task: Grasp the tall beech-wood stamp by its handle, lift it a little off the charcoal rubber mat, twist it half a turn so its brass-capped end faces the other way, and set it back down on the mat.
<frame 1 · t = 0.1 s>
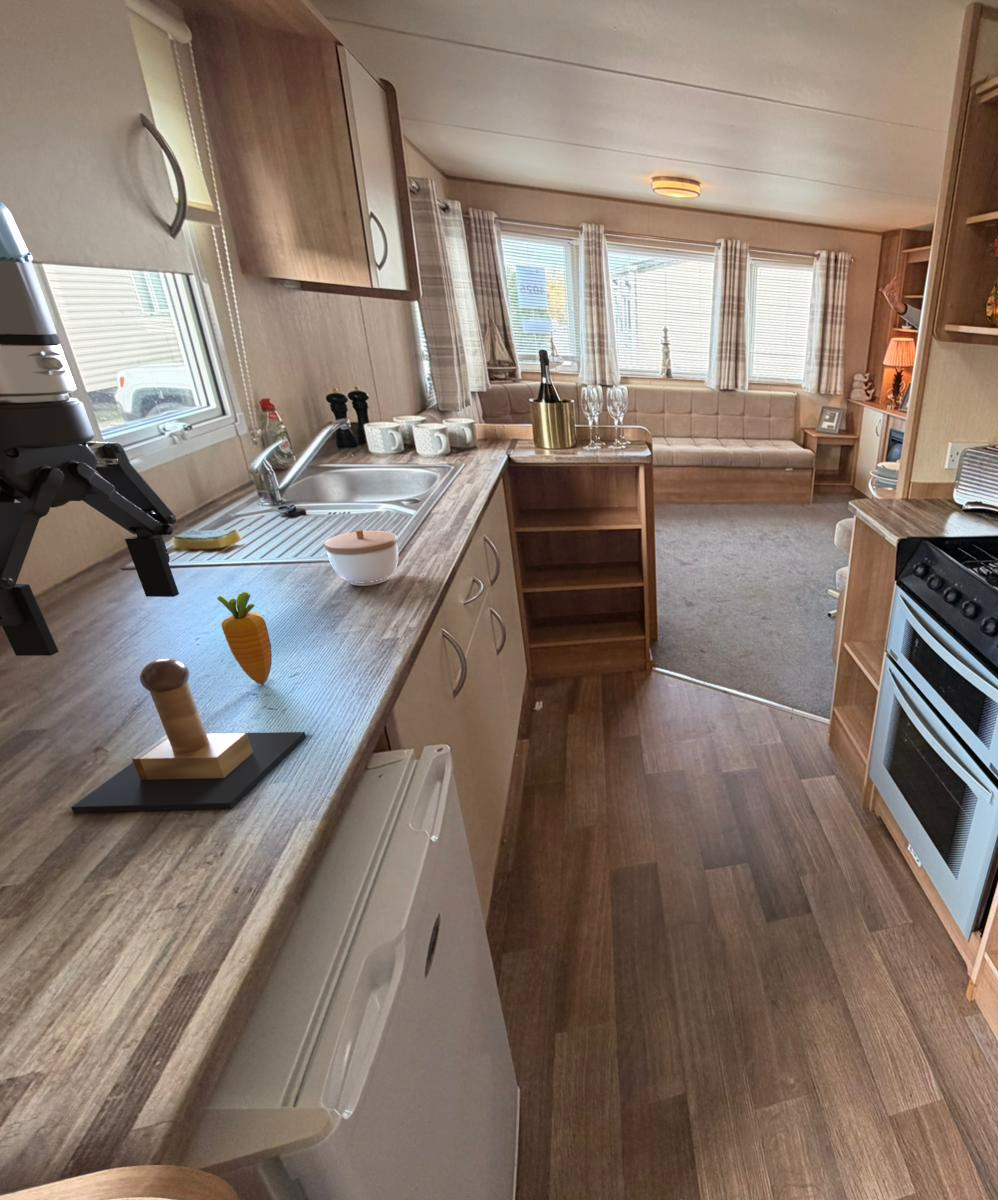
hand: (106, 622, 63), 23 cm above the counter, tool pointing down, fingers open, 13 cm apart
stamp: (157, 766, 77), point 1 cm above the counter, touching mat
lidded bowl: (370, 580, 136), on the counter
mat: (200, 771, 78), on the counter
carrot: (262, 685, 96), on the counter
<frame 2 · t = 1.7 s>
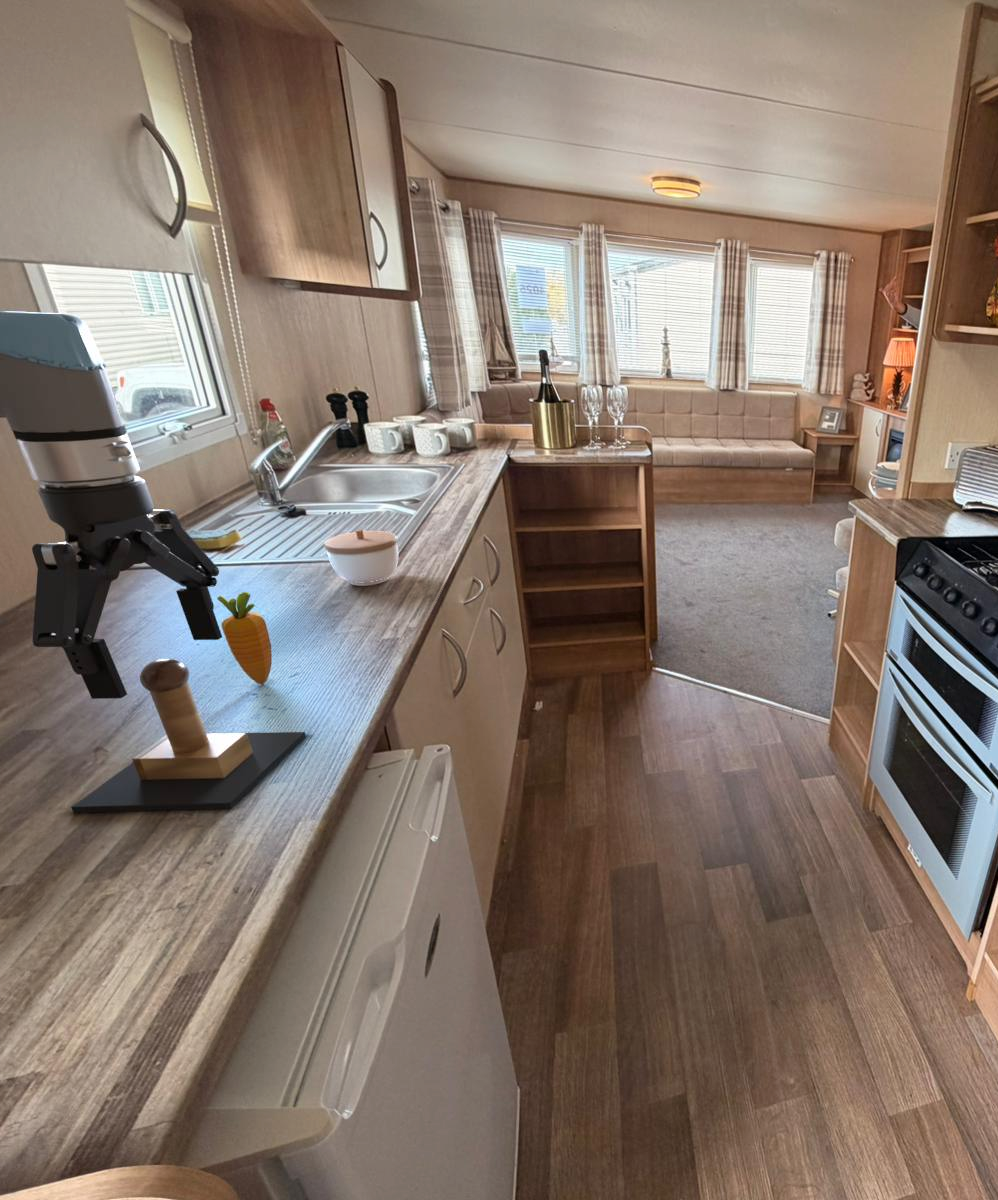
hand: (163, 665, 72), 15 cm above the counter, tool pointing down, fingers open, 13 cm apart
nothing on the counter moved.
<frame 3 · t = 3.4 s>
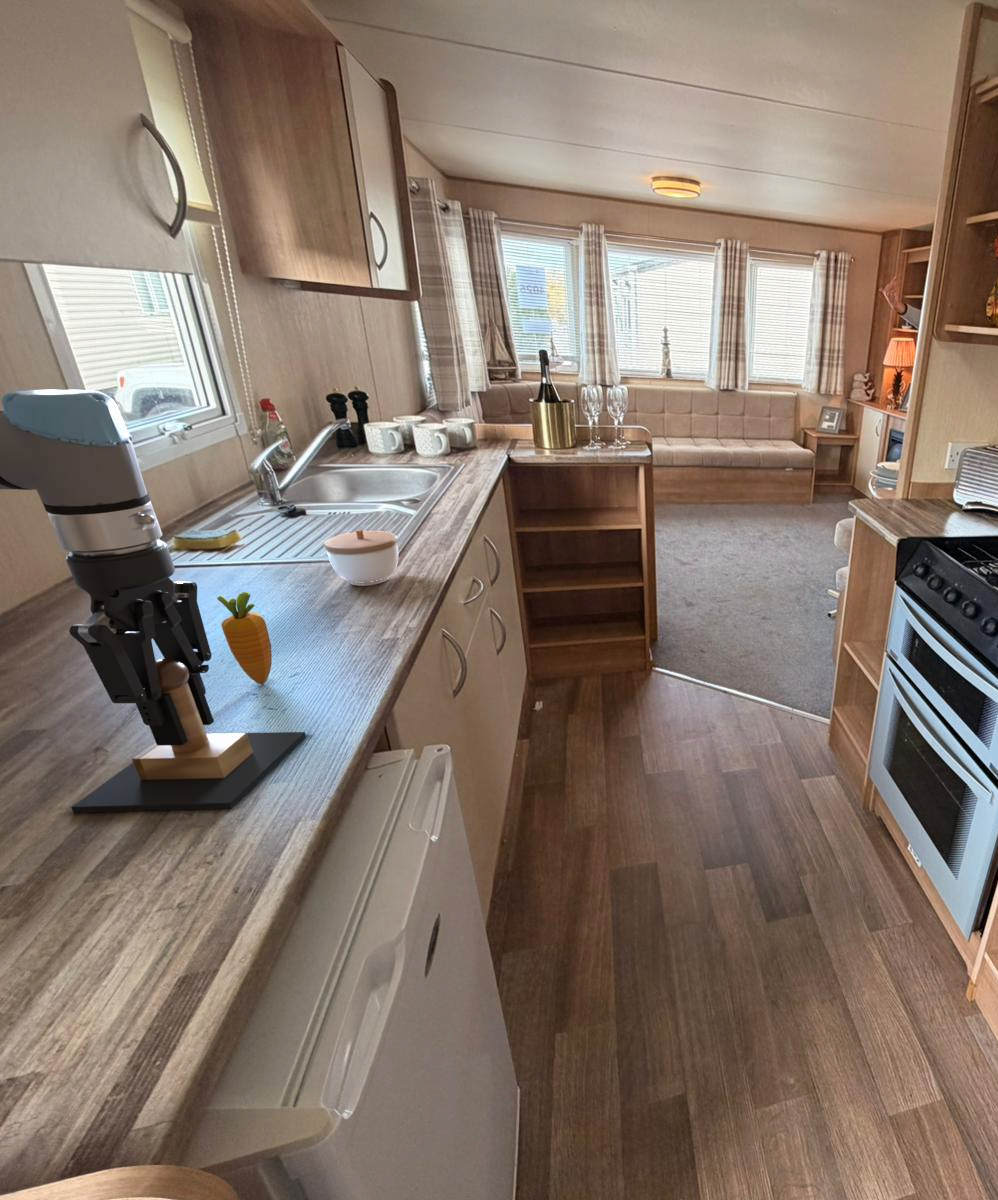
hand: (186, 732, 75), 6 cm above the counter, tool pointing down, fingers closed on stamp, 3 cm apart
stamp: (157, 766, 77), point 1 cm above the counter, touching gripper, mat
everything else where it was.
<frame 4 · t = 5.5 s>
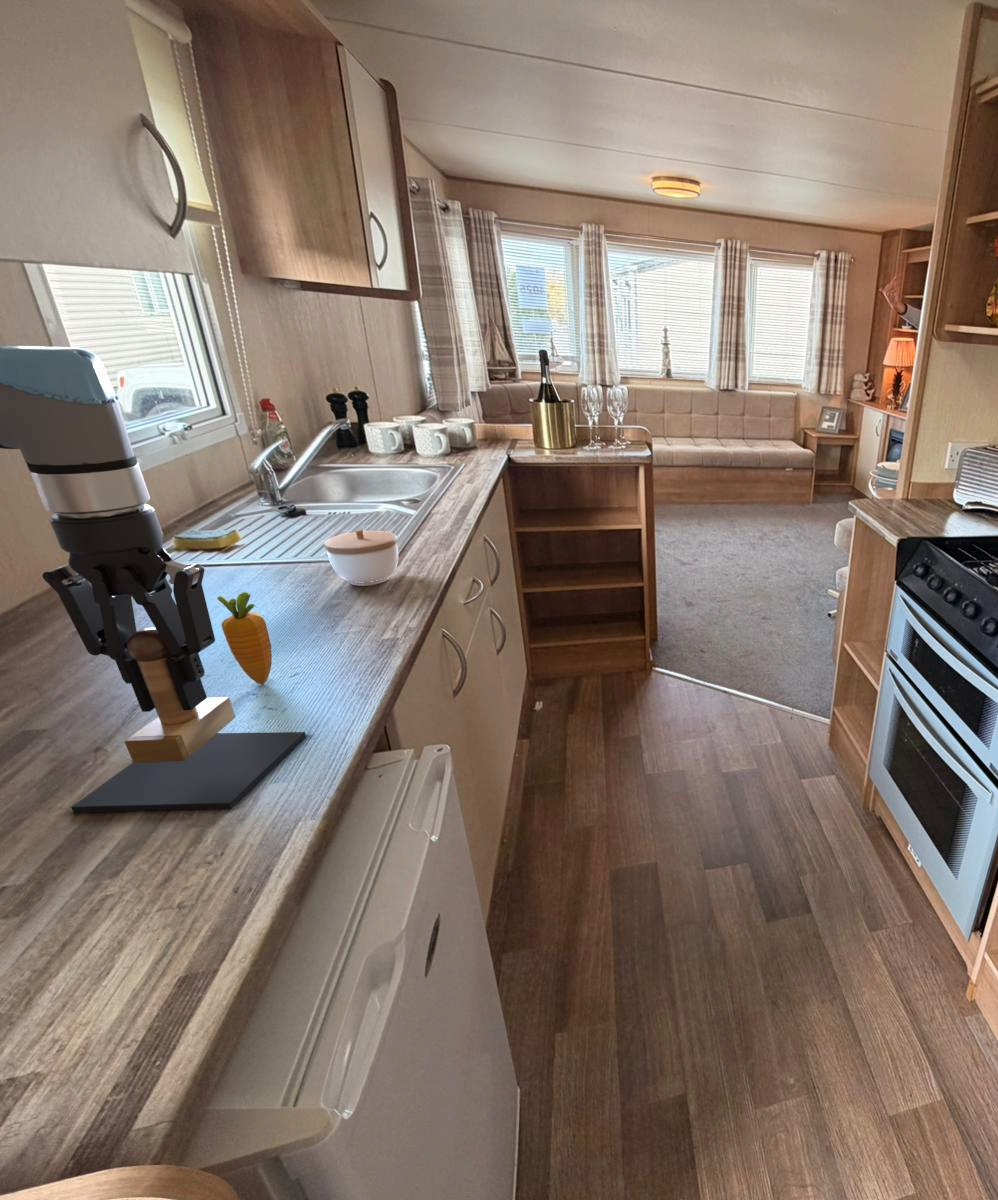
hand: (175, 704, 74), 10 cm above the counter, tool pointing down, fingers closed on stamp, 3 cm apart
stamp: (158, 762, 72), point 5 cm above the counter, touching gripper
everything else where it was.
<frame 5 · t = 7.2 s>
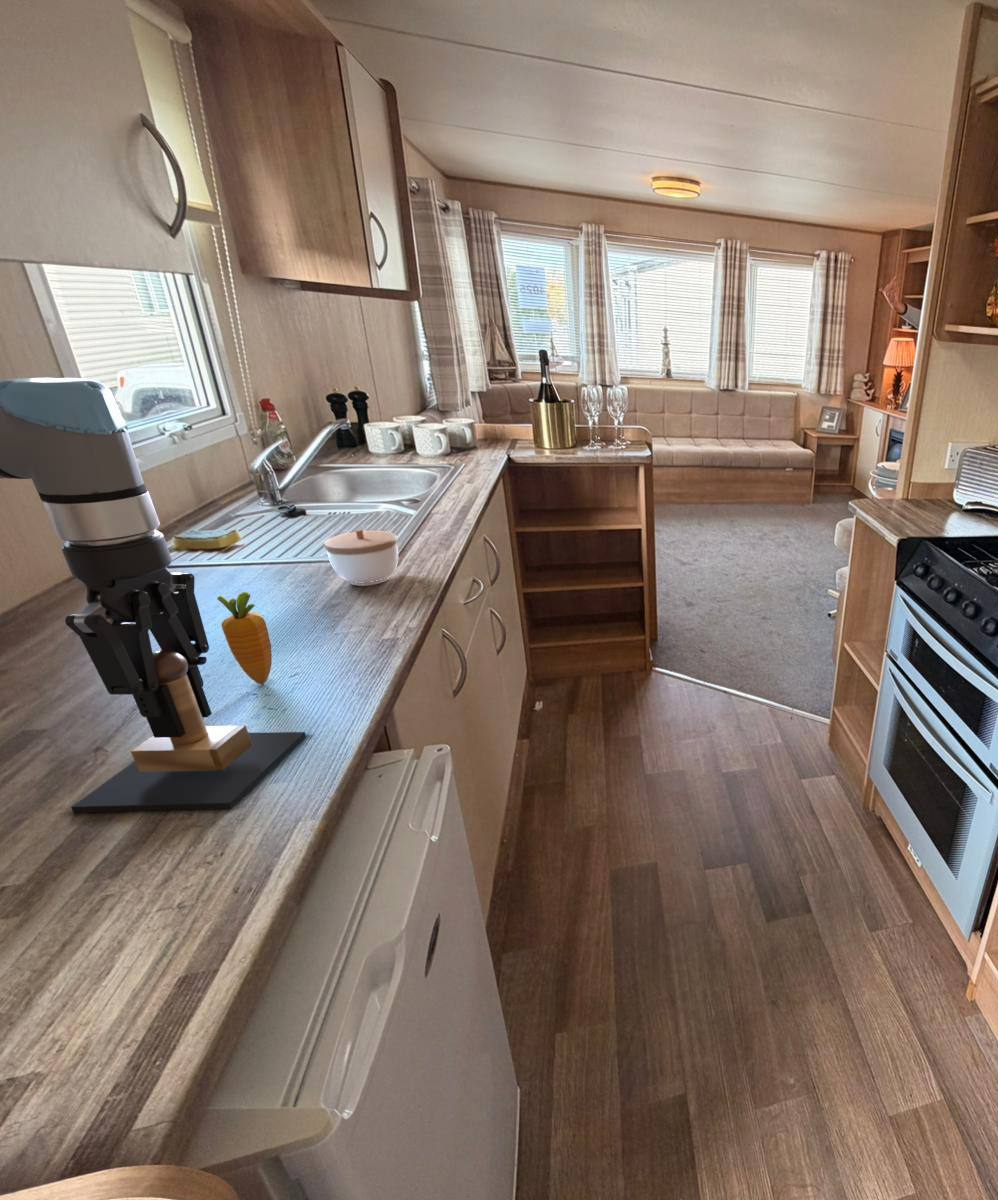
hand: (183, 725, 75), 7 cm above the counter, tool pointing down, fingers closed on stamp, 3 cm apart
stamp: (238, 757, 77), point 2 cm above the counter, touching gripper
everything else where it was.
when the fingers open (5 cm above the counter, at t = 7.8 s): stamp stays where it is, resting on mat.
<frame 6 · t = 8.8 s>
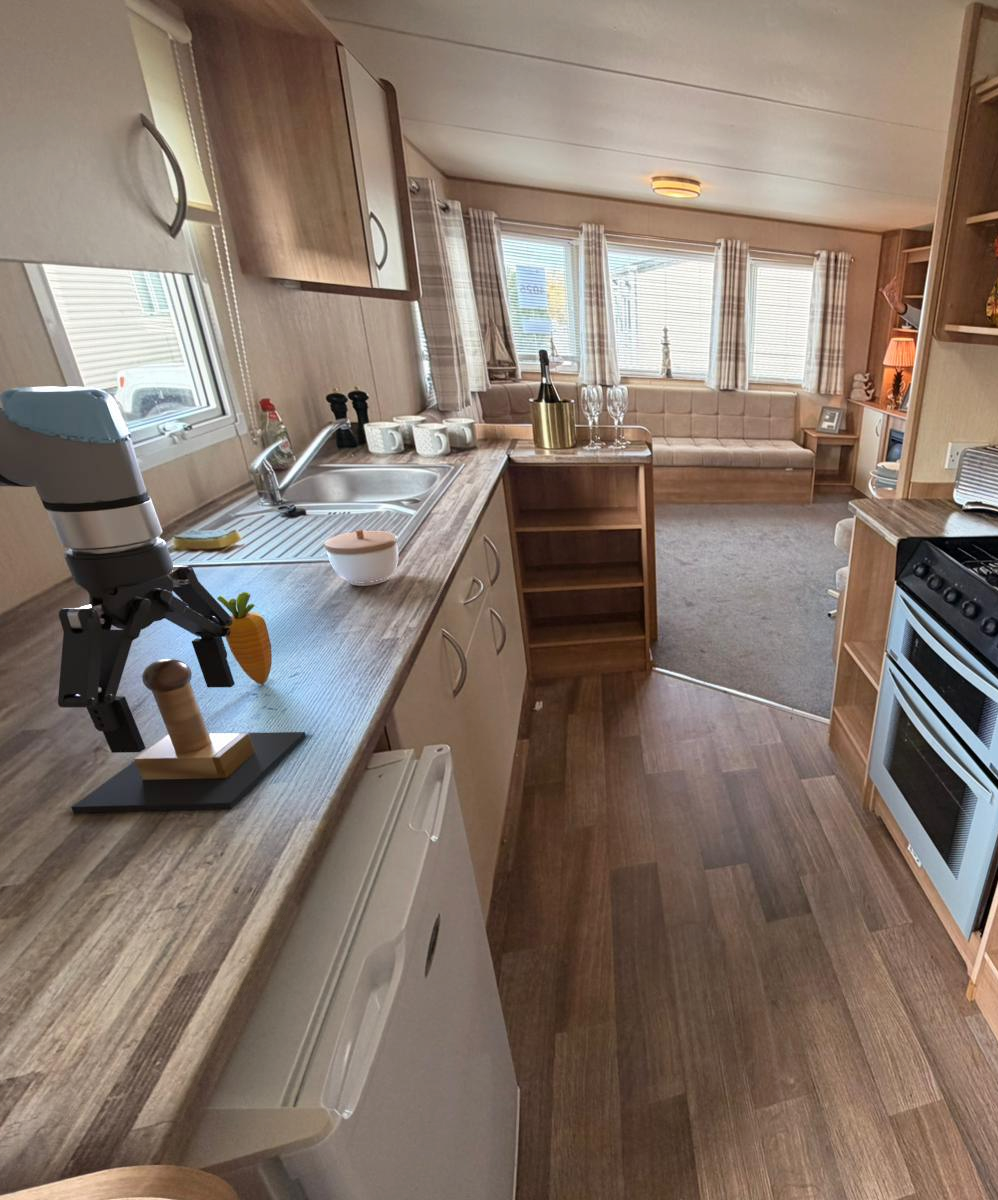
hand: (179, 715, 75), 8 cm above the counter, tool pointing down, fingers open, 13 cm apart
stamp: (241, 765, 78), point 1 cm above the counter, touching mat
everything else where it was.
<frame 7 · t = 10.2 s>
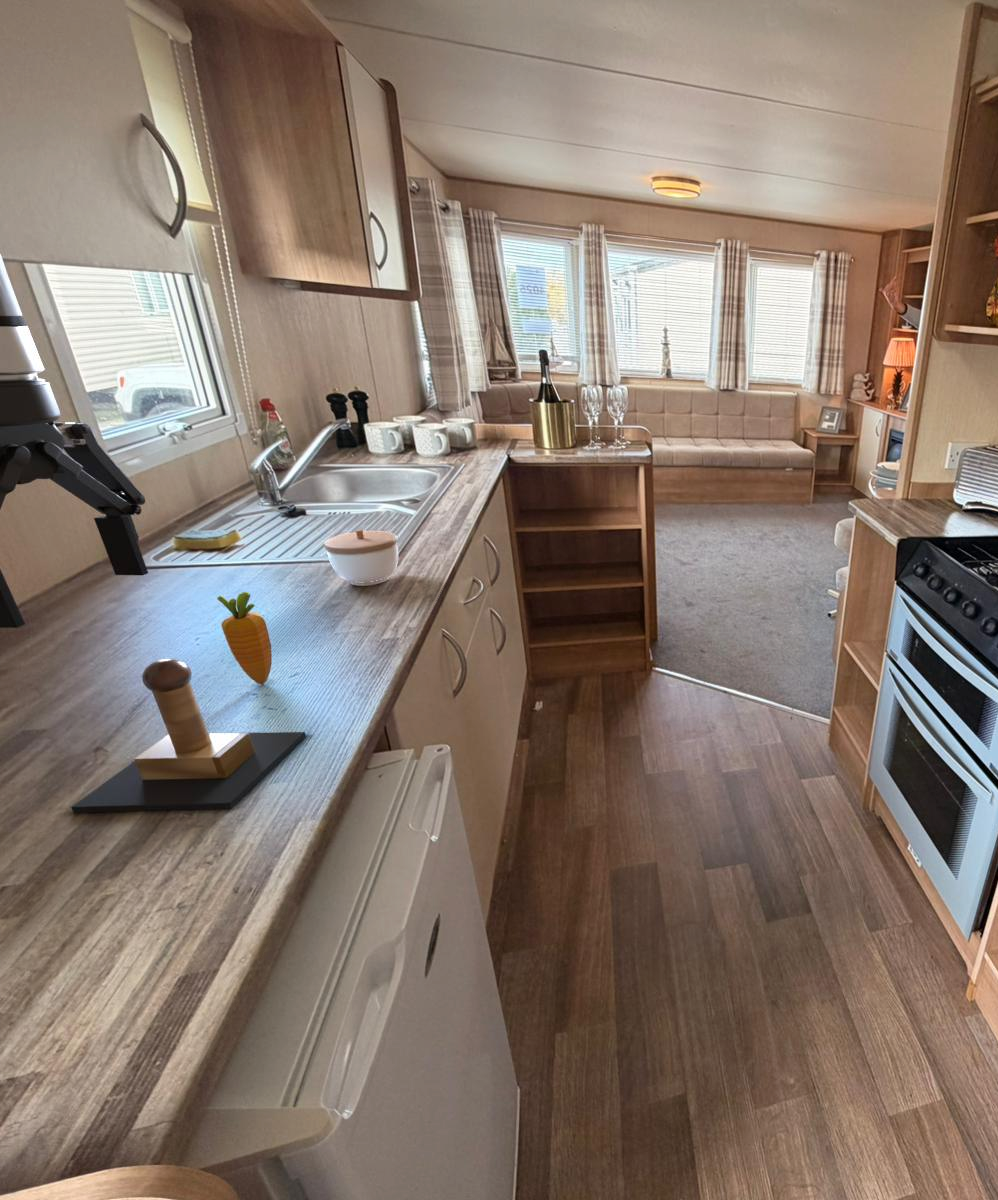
hand: (74, 598, 64), 25 cm above the counter, tool pointing down, fingers open, 13 cm apart
nothing on the counter moved.
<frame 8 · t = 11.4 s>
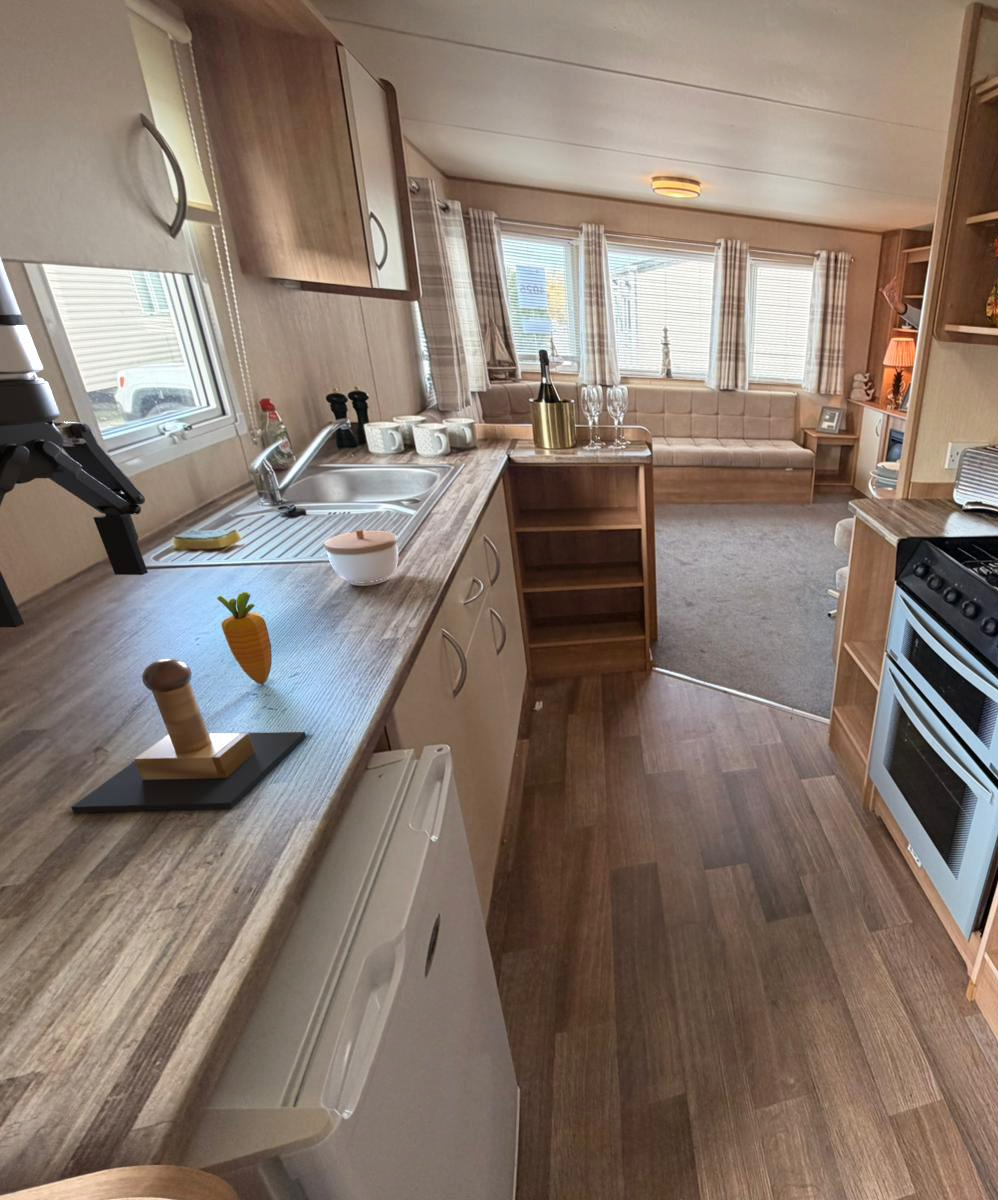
hand: (74, 597, 64), 25 cm above the counter, tool pointing down, fingers open, 13 cm apart
nothing on the counter moved.
at the end: stamp 0.2 cm from the target spot, point 0.8 cm above the counter; stamp tilted 0°; the gripper is holding nothing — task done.
